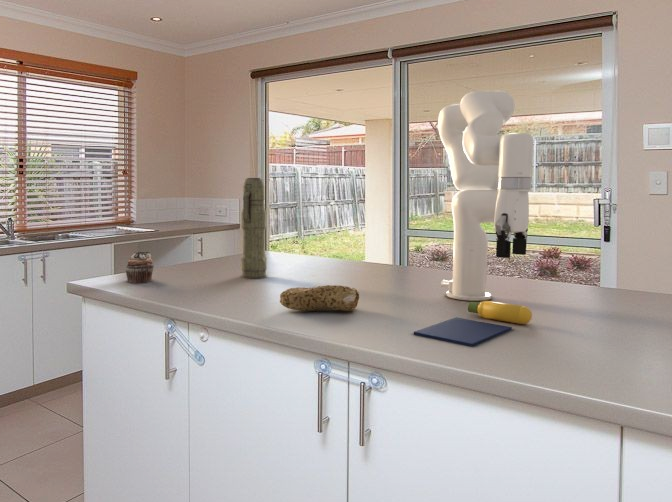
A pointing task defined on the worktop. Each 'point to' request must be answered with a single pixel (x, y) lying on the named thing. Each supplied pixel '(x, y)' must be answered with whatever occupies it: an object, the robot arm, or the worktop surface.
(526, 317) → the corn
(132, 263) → the cupcake
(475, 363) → the worktop surface
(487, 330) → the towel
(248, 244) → the thermos
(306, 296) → the sponge
